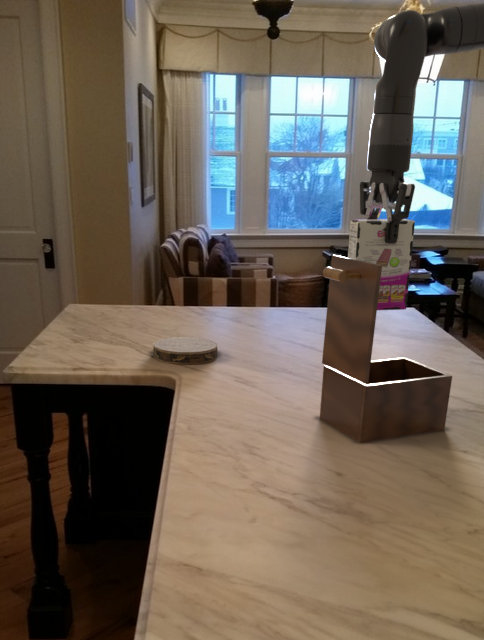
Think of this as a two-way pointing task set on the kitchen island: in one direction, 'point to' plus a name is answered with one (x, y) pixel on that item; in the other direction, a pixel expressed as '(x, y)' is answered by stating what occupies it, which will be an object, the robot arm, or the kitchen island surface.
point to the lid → (351, 316)
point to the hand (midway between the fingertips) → (380, 241)
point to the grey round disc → (185, 350)
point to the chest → (386, 400)
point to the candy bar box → (385, 257)
